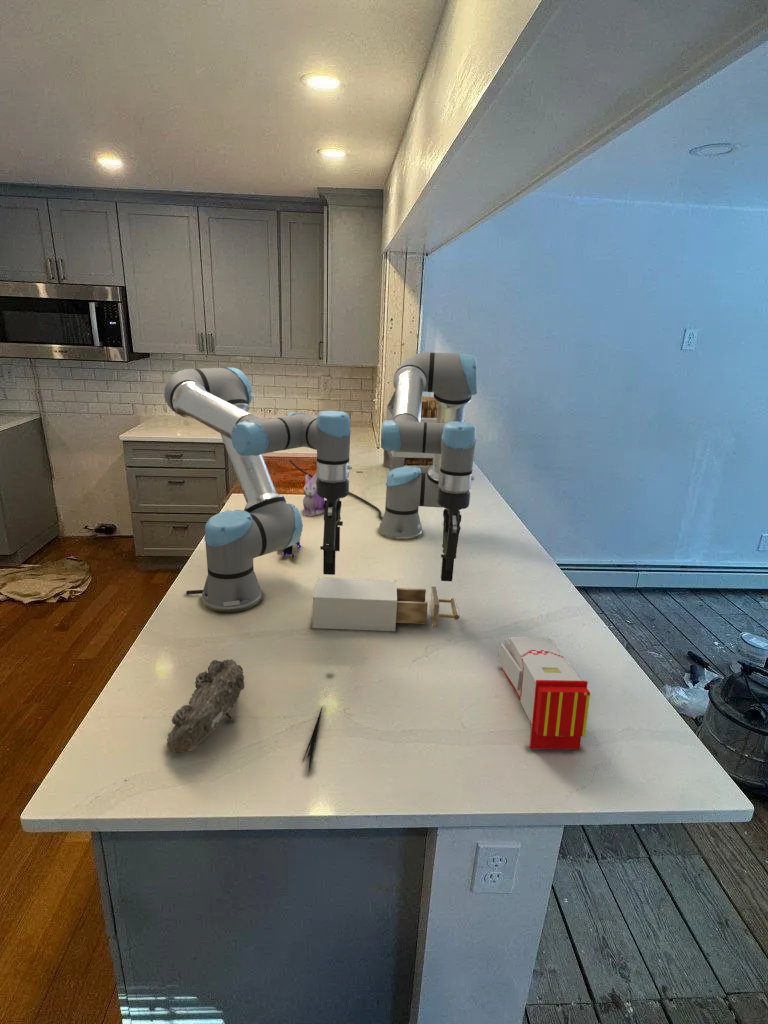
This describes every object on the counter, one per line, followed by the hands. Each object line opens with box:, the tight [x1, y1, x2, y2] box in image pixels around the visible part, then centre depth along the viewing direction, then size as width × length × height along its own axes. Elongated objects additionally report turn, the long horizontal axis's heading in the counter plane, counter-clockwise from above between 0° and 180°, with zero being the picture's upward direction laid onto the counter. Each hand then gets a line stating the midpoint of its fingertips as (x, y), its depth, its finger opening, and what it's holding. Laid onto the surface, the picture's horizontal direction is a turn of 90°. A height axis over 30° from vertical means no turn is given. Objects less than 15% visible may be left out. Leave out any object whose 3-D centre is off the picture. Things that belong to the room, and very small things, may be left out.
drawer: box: [396, 585, 461, 629], centre depth 143 cm, size 24×10×6 cm, turn 90°
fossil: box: [166, 658, 245, 754], centre depth 106 cm, size 22×10×15 cm
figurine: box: [302, 473, 326, 517], centre depth 214 cm, size 9×10×15 cm
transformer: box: [383, 390, 465, 472], centre depth 268 cm, size 34×33×41 cm
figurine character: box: [276, 524, 304, 560], centre depth 180 cm, size 7×8×15 cm
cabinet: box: [311, 576, 398, 632], centre depth 143 cm, size 20×11×8 cm, turn 90°
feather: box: [301, 673, 332, 771], centre depth 108 cm, size 2×28×2 cm
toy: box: [497, 636, 591, 750], centre depth 115 cm, size 12×13×30 cm
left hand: (331, 561), depth 139 cm, fingers open, 13 cm apart
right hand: (446, 579), depth 141 cm, fingers closed
